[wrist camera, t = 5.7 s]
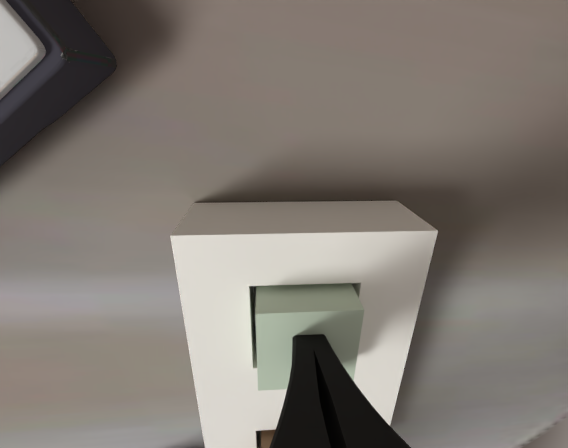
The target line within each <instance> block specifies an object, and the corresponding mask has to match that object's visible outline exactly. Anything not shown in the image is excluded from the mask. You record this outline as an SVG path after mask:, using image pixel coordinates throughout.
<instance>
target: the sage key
mask: <svg viewBox="0 0 568 448" xmlns="http://www.w3.org/2000/svg"><path fill="white" fill-rule="evenodd" d="M363 316H364V308H363V306H362V304H361V302H360V300H359V298H358V296H357V294H356V292H355V290H354V288H353V285H352V283H334V284H301V285H268V286H256V308H255V321H256V348H257V374H258V391H261V390H280V389H287V387H288V383H289V378H290V372H291V366H292V337H294V336H295V335H313V334H324V335H325V336H326V338H327V340H328V341H329V343H330V345H331V347H332V349H333V350H334V352H335V354H336V355H337V357H338V359H339V360H340V362H341V363H342V365H343V366H344V368H345V369H346V371H347V372H348V374H349V375H350V377H351V378H352V380H353V381H354V375H355V368H356V362H357V355H358V349H359V342H360V336H361V329H362V323H363Z"/></svg>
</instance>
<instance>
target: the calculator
mask: <svg viewBox="0 0 568 448" xmlns="http://www.w3.org/2000/svg"><path fill="white" fill-rule="evenodd" d="M115 69H116V59H115V57H114V56H113V54H112V53H111V51H110V50H109V49H108V48H107V46H106V45H105V44H104V43H103V41H102V40H101V39H100V37H99V36H98V35H97V34H96V32H95V31H94V30H93V29H92V27H91V26H90V25H89V24H88V22H87V21H86V20H85V18H84V17H83V16H82V15H81V13H80V12H79V11H78V10H77V8H76V7H75V6H74V5H73V3H72V2H71V1H70V0H0V166H1V165H2V164H3V163H5V162H6V161H7V160H8V159H9V158H10V157H11V156H12V155H14V154H15V153H16V152H17V151H18V150H19V149H20V148H22V147H23V146H24V145H25V144H26V143H27V142H28V141H29V140H31V139H32V138H33V137H34V136H35V135H36V134H37V133H38V132H40V131H41V130H42V129H43V128H45V127H46V126H48V125H50V124H52V123H53V122H55V121H56V120H57V119H59V118H60V117H61V116H62V115H63V114H64V113H66V112H67V111H68V110H69V109H70V108H72V107H73V106H74V105H75V104H76V103H78V102H79V101H80V100H81V99H82V98H83V97H85V96H86V95H87V94H88V93H89V92H91V91H92V90H93V89H94V88H95V87H97V86H98V85H99V84H100V83H101V82H102V81H104V80H105V79H106V78H107V77H108V76H110V75H111V74H112V73H113V72H114V71H115Z"/></svg>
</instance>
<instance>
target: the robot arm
mask: <svg viewBox="0 0 568 448" xmlns="http://www.w3.org/2000/svg"><path fill="white" fill-rule="evenodd" d="M269 448H411V447H410V446H409V445H408V444H407V443H406V442H405V441H404V440H403V439H402V438H401V437H400V436H399V435H398V434H397V433H396V432H395V431H394V430H393V429H392V428H391V427H390V426H389V425H388V423H387V422H386V421H385V420H384V419H383V418H382V417H381V415H380V414H379V413H378V412H377V411H376V410H375V408H374V407H373V406H372V405H371V404H370V402H369V401H368V400H367V398H366V397H365V396H364V395H363V393H362V392H361V391H360V389H359V388H358V387H357V385H356V384H355V382H354V381H353V380H352V378H351V377H350V375H349V374H348V372H347V371H346V369H345V368H344V366H343V365H342V363H341V362H340V360H339V359H338V357H337V355H336V354H335V352H334V350H333V349H332V347H331V345H330V343H329V341H328V340H327V338H326V336H325V335H324V334H313V335H295V336H294V337H292V366H291V372H290V378H289V383H288V387H287V392H286V396H285V400H284V404H283V407H282V411H281V414H280V417H279V421H278V424H277V427H276V430H275V433H274V436H273V439H272V442H271V444H270V447H269Z"/></svg>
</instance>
